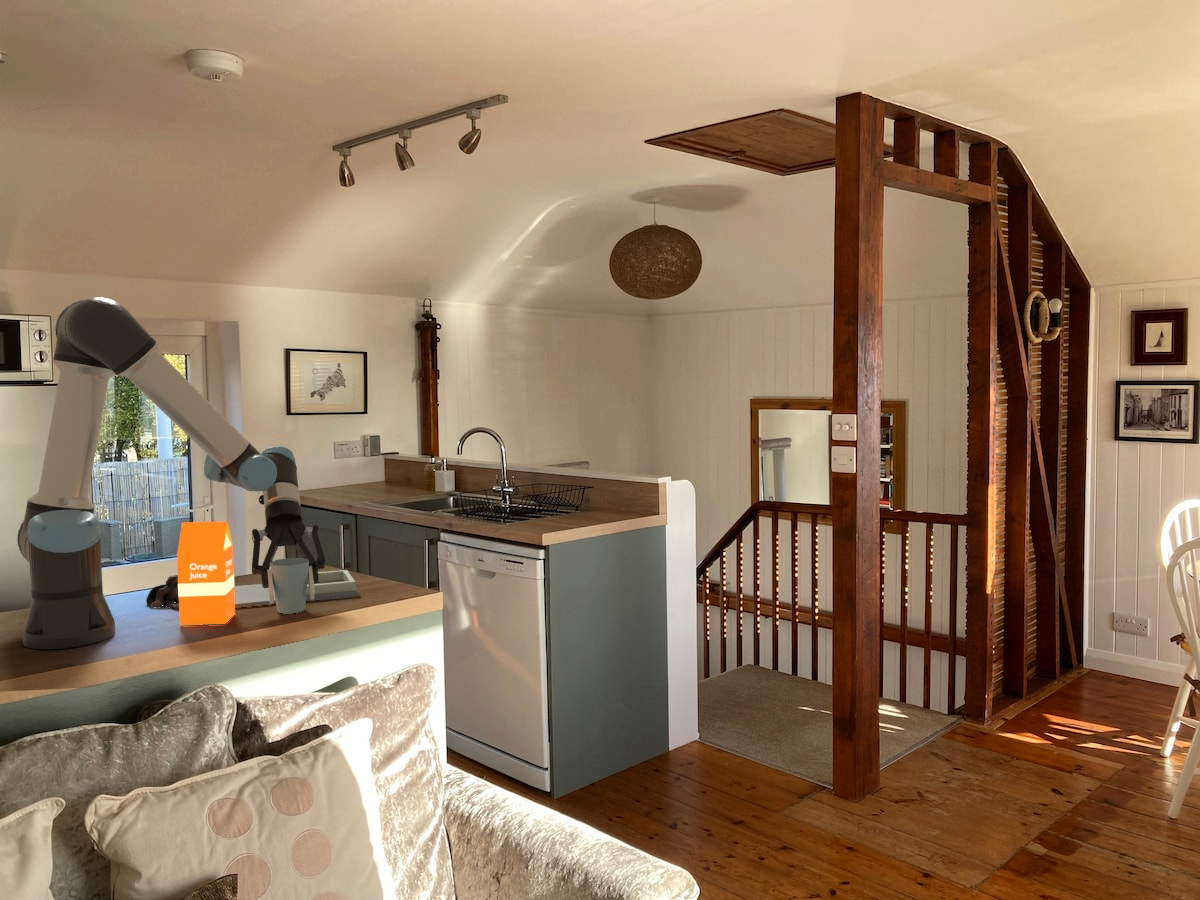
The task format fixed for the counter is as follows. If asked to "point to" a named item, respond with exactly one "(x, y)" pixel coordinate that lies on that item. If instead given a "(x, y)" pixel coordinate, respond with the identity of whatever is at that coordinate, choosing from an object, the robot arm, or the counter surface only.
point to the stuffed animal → (165, 594)
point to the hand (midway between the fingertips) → (292, 597)
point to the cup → (290, 584)
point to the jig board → (325, 589)
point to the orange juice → (205, 574)
